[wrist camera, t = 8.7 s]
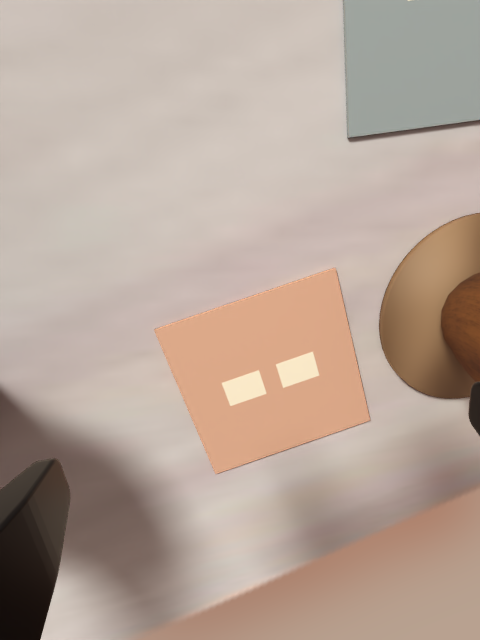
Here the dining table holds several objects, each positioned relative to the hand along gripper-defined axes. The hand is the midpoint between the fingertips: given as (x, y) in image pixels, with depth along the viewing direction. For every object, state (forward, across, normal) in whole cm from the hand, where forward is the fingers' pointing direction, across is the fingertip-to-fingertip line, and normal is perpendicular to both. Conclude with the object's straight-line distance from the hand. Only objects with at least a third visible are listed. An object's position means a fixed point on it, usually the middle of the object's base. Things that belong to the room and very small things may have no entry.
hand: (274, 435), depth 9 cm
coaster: (+13, -14, +4) cm, 19 cm away
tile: (+13, -2, +6) cm, 15 cm away
